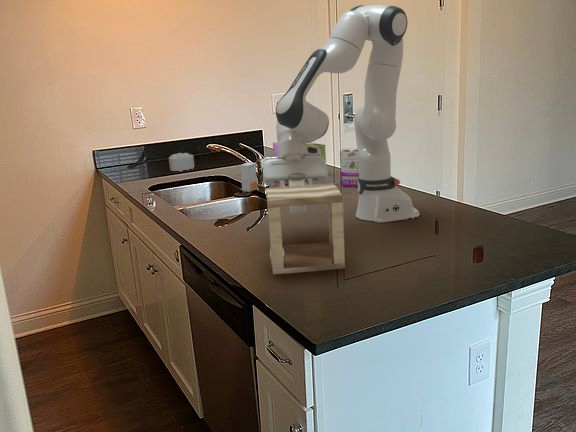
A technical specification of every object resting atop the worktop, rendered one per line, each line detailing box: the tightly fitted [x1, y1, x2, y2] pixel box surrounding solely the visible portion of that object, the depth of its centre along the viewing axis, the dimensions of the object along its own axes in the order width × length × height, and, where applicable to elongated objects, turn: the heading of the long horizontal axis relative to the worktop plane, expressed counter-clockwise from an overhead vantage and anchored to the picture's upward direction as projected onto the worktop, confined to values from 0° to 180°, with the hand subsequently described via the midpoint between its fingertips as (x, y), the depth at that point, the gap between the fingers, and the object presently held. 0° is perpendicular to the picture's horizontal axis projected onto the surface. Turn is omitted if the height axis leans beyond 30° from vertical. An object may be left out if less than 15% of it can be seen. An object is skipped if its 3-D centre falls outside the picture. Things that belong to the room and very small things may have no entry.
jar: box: [288, 173, 307, 215], centre depth 179 cm, size 5×5×12 cm
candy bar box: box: [339, 148, 359, 188], centre depth 256 cm, size 11×5×16 cm, turn 68°
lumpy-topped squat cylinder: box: [168, 152, 195, 172], centre depth 319 cm, size 10×13×9 cm
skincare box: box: [240, 162, 258, 193], centre depth 260 cm, size 6×4×12 cm
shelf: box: [265, 182, 346, 275], centre depth 167 cm, size 17×20×21 cm
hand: (297, 193), depth 178 cm, fingers closed on jar, 5 cm apart
